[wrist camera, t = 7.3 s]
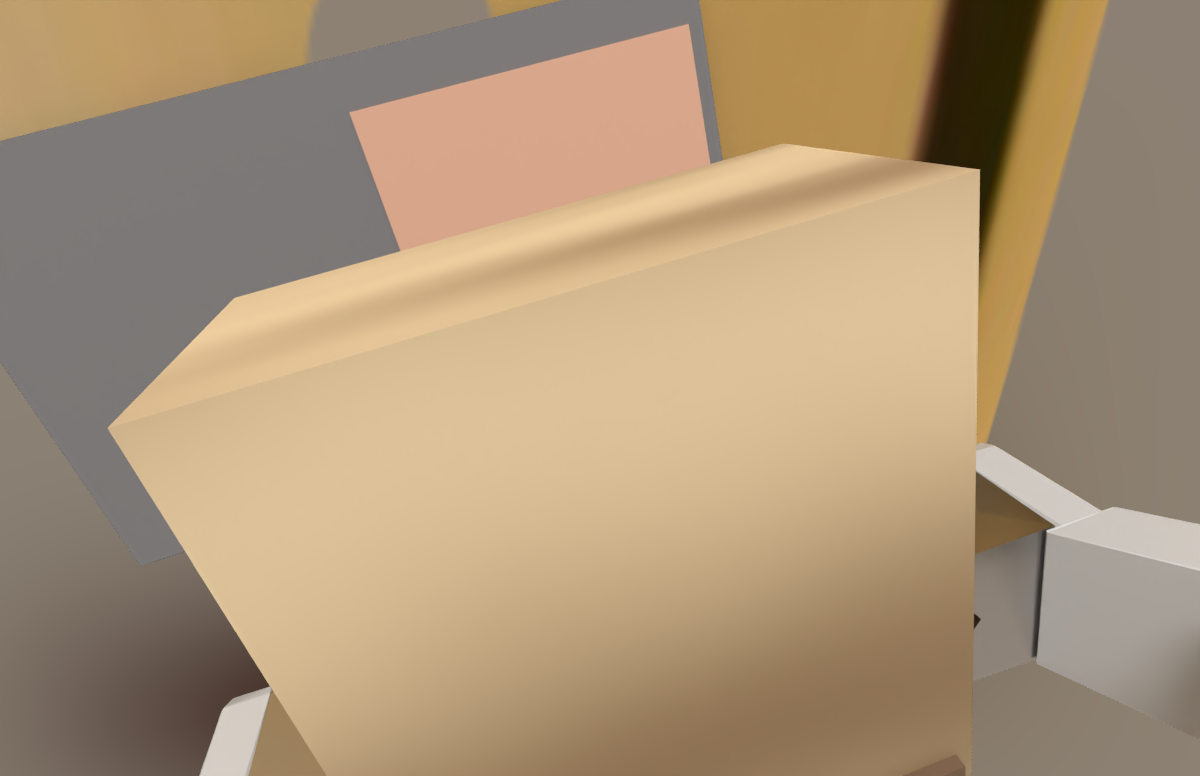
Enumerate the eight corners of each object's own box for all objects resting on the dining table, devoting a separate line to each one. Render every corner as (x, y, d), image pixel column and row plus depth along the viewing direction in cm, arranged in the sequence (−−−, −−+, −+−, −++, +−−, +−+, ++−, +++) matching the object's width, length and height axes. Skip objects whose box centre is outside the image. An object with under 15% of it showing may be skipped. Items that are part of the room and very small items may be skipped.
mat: (146, 556, 25) (139, 568, 24) (-115, 171, 19) (-133, 174, 18) (746, 358, 28) (753, 364, 27) (687, -30, 22) (695, -34, 21)
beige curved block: (233, 298, 7) (95, 438, 4) (782, 143, 8) (995, 170, 5) (494, 831, 11) (517, 1093, 8) (842, 698, 11) (978, 898, 9)
